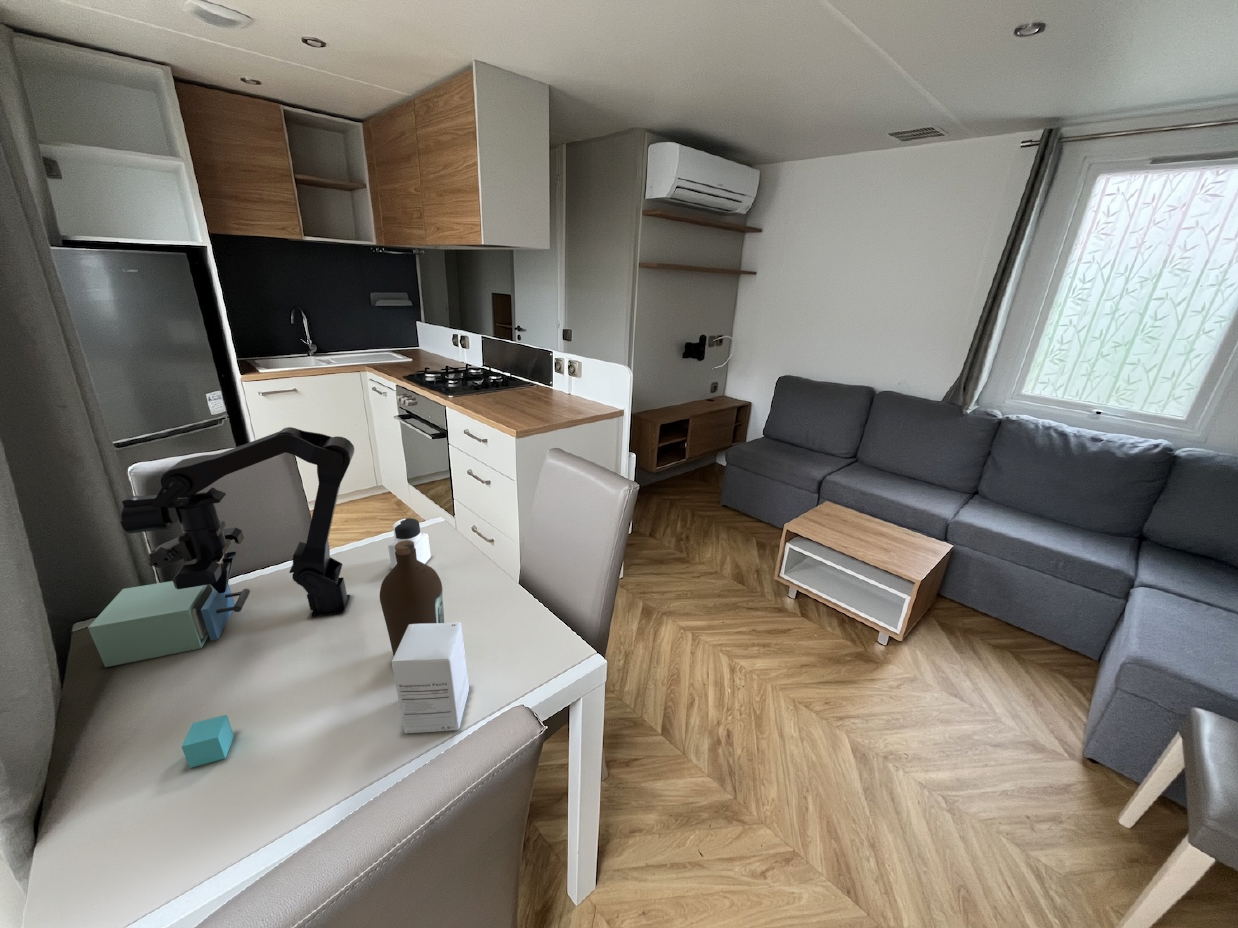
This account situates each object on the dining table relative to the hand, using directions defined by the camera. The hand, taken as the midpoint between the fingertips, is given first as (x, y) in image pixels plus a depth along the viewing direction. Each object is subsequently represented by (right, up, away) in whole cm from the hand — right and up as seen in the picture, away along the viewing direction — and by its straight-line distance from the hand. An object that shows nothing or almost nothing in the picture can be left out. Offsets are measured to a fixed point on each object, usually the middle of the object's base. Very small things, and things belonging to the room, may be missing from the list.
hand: (222, 592), depth 101 cm
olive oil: (+43, -12, -5) cm, 45 cm away
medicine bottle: (+28, 0, +26) cm, 38 cm away
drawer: (-5, -7, +1) cm, 9 cm away
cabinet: (-10, -9, -1) cm, 14 cm away
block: (+18, -18, -25) cm, 36 cm away
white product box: (+50, -16, -17) cm, 55 cm away
